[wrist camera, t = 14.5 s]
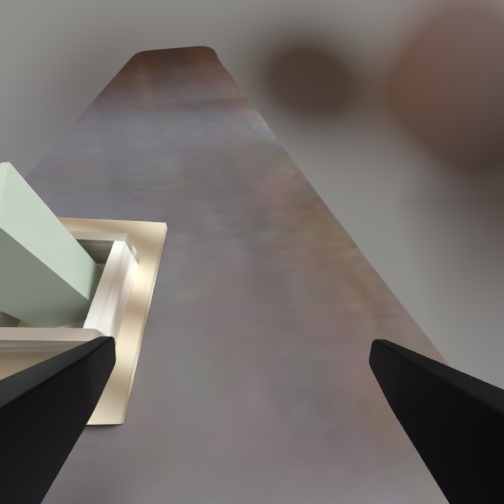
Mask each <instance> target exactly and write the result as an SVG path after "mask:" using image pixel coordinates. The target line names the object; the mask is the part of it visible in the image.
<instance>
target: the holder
mask: <svg viewBox="0 0 504 504" xmlns="http://www.w3.org/2000/svg"><path fill="white" fill-rule="evenodd" d="M57 219H58V220H59V221H60V222H61V223H62V224H63V226H64V227H65V228H66V229H67V230H68V231H69V232H70V234H71V235H72V236H73V237H74V238H75V239H76V241H77V242H78V243H79V244H80V245H81V246H82V248H83V249H84V250H85V251H86V252H87V253H88V255H89V256H90V257H91V258H92V259H93V260H94V262H95V263H96V264H97V265H98V266H99V267H100V269H101V270H102V277H101V279H100V282H99V285H98V288H97V290H96V293H95V296H94V299H93V302H92V304H91V307H90V310H89V313H88V315H87V318H86V320H82V321H79V322H75V323H72V324H68V325H65V326H61V327H58V328H38V327H35V326H33V325H31V324H29V323H27V322H24V321H22V320H20V319H18V318H15V317H13V316H11V315H9V314H7V313H4V312H2V311H0V380H1V379H3V378H6V377H8V376H10V375H13V374H15V373H17V372H19V371H22V370H24V369H26V368H29V367H31V366H33V365H35V364H38V363H40V362H42V361H45V360H47V359H49V358H51V357H54V356H56V355H58V354H61V353H63V352H65V351H67V350H70V349H72V348H74V347H77V346H79V345H81V344H83V343H86V342H88V341H90V340H93V339H95V338H97V337H100V336H112V337H114V339H115V348H116V363H115V366H114V369H113V371H112V373H111V375H110V378H109V380H108V382H107V384H106V386H105V388H104V391H103V393H102V395H101V397H100V399H99V402H98V404H97V406H96V408H95V410H94V412H93V414H92V416H91V418H90V419H89V421H88V423H87V425H91V424H123V423H124V419H125V414H126V410H127V405H128V401H129V397H130V392H131V388H132V383H133V379H134V374H135V370H136V365H137V361H138V357H139V352H140V348H141V343H142V339H143V334H144V330H145V325H146V321H147V317H148V312H149V308H150V303H151V299H152V294H153V290H154V285H155V281H156V277H157V272H158V268H159V263H160V259H161V254H162V250H163V245H164V241H165V237H166V232H167V226H166V223H159V222H140V221H121V220H102V219H83V218H64V217H57Z"/></svg>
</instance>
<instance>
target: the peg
mask: <svg viewBox="0 0 504 504" xmlns="http://www.w3.org/2000/svg"><path fill="white" fill-rule="evenodd" d="M101 277H102V270H101V269H100V267H99V266H98V265H97V264H96V263H95V262H94V260H93V259H92V258H91V257H90V256H89V255H88V253H87V252H86V251H85V250H84V249H83V248H82V246H81V245H80V244H79V243H78V242H77V241H76V239H75V238H74V237H73V236H72V235H71V234H70V232H69V231H68V230H67V229H66V228H65V227H64V226H63V224H62V223H61V222H60V221H59V220H58V219H57V217H56V216H55V215H54V214H53V213H52V212H51V210H50V209H49V208H48V207H47V206H46V205H45V203H44V202H43V201H42V200H41V199H40V198H39V196H38V195H37V194H36V193H35V192H34V191H33V189H32V188H31V187H30V186H29V185H28V184H27V182H26V181H25V180H24V179H23V178H22V177H21V175H20V174H19V173H18V172H17V171H16V170H15V169H14V167H13V166H12V165H11V164H10V163H9V162H6V163H0V311H2V312H4V313H7V314H9V315H11V316H13V317H15V318H18V319H20V320H22V321H24V322H27V323H29V324H31V325H33V326H35V327H38V328H58V327H61V326H65V325H68V324H72V323H75V322H79V321H82V320H86V318H87V315H88V313H89V310H90V307H91V304H92V302H93V299H94V296H95V293H96V290H97V288H98V285H99V282H100V279H101Z"/></svg>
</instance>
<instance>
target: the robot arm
mask: <svg viewBox="0 0 504 504" xmlns="http://www.w3.org/2000/svg"><path fill="white" fill-rule="evenodd" d="M115 363H116V348H115V339H114V337H112V336H100V337H97V338H95V339H93V340H90V341H88V342H86V343H83V344H81V345H79V346H77V347H74V348H72V349H70V350H67V351H65V352H63V353H61V354H58V355H56V356H54V357H51V358H49V359H47V360H45V361H42V362H40V363H38V364H35V365H33V366H31V367H29V368H26V369H24V370H22V371H19V372H17V373H15V374H13V375H10V376H8V377H6V378H3V379H1V380H0V504H41V502H42V500H43V499H44V497H45V495H46V493H47V492H48V490H49V488H50V487H51V485H52V483H53V481H54V480H55V478H56V476H57V475H58V473H59V471H60V469H61V468H62V466H63V464H64V462H65V461H66V459H67V457H68V456H69V454H70V452H71V450H72V449H73V447H74V445H75V444H76V442H77V440H78V438H79V437H80V435H81V433H82V431H83V430H84V428H85V426H86V425H87V423H88V421H89V419H90V418H91V416H92V414H93V412H94V410H95V408H96V406H97V404H98V402H99V399H100V397H101V395H102V393H103V391H104V388H105V386H106V384H107V382H108V380H109V378H110V375H111V373H112V371H113V369H114V366H115ZM369 364H370V367H371V369H372V371H373V373H374V375H375V377H376V379H377V381H378V383H379V385H380V387H381V389H382V391H383V393H384V395H385V397H386V399H387V401H388V403H389V405H390V407H391V409H392V411H393V412H394V414H395V416H396V417H397V419H398V421H399V422H400V424H401V425H402V427H403V429H404V430H405V432H406V434H407V435H408V437H409V439H410V440H411V442H412V443H413V445H414V447H415V448H416V450H417V452H418V453H419V455H420V456H421V458H422V460H423V461H424V463H425V465H426V466H427V468H428V470H429V471H430V473H431V474H432V476H433V478H434V479H435V481H436V483H437V484H438V486H439V487H440V489H441V491H442V492H443V494H444V496H445V497H446V499H447V500H448V502H449V504H504V390H503V389H501V388H498V387H496V386H494V385H491V384H489V383H487V382H484V381H482V380H480V379H477V378H475V377H472V376H470V375H468V374H465V373H463V372H460V371H458V370H456V369H454V368H451V367H449V366H447V365H444V364H442V363H440V362H437V361H435V360H433V359H430V358H428V357H426V356H423V355H421V354H419V353H416V352H414V351H412V350H409V349H407V348H404V347H402V346H400V345H397V344H395V343H393V342H390V341H388V340H385V339H375V340H373V342H372V346H371V351H370V357H369Z"/></svg>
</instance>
